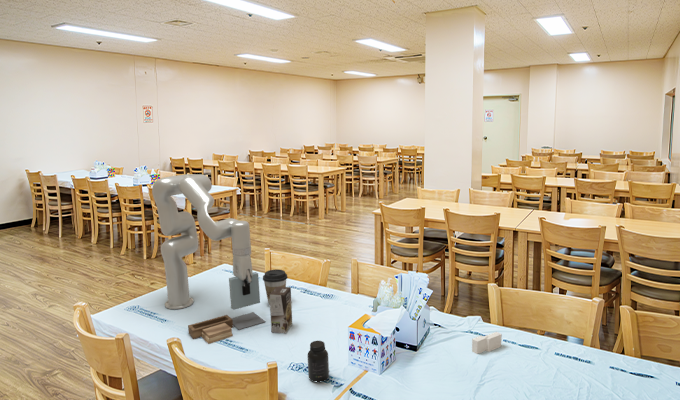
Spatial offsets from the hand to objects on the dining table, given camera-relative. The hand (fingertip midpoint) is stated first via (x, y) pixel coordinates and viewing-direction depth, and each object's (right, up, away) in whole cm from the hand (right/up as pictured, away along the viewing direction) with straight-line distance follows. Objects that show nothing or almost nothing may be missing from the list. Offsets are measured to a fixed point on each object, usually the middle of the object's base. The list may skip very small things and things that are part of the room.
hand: (244, 293), depth 196 cm
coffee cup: (+10, -9, +20) cm, 25 cm away
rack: (-13, -14, -5) cm, 20 cm away
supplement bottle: (+33, -20, -41) cm, 56 cm away
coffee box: (+16, -14, -5) cm, 22 cm away
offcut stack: (-9, -16, -11) cm, 21 cm away
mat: (0, -12, +2) cm, 13 cm away
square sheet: (0, -5, +1) cm, 5 cm away
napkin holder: (+93, -16, -25) cm, 97 cm away
